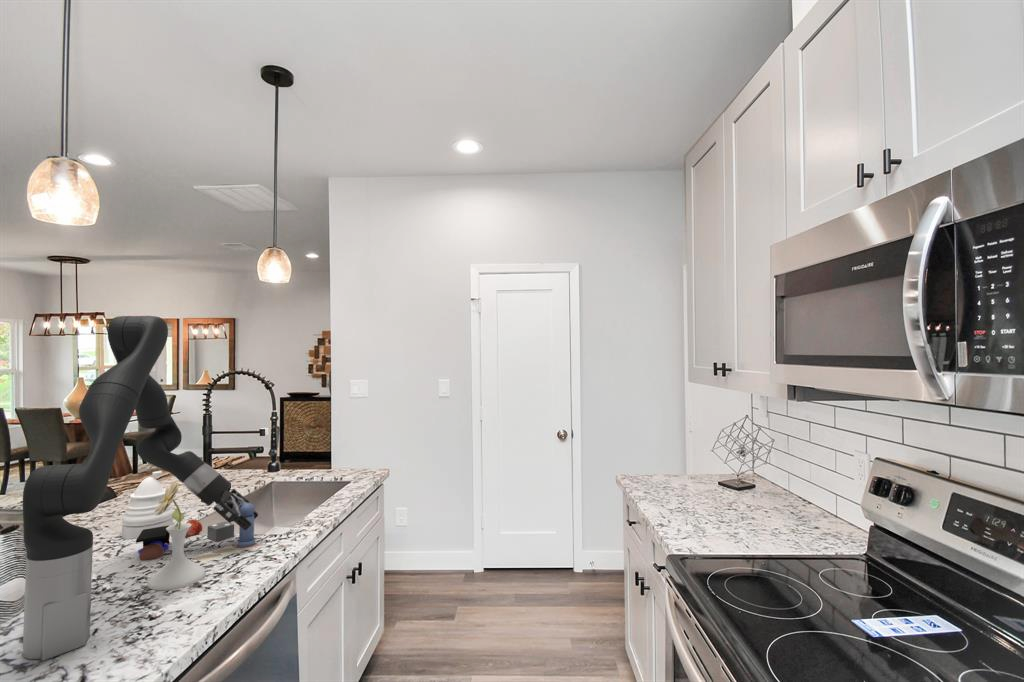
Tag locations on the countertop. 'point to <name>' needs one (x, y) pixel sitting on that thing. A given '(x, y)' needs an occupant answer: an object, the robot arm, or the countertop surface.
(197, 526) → the pomegranate
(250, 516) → the pawn
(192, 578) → the flower in vase
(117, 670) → the countertop surface
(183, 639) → the countertop surface
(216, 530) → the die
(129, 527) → the honey pot
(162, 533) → the figurine character
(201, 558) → the board
